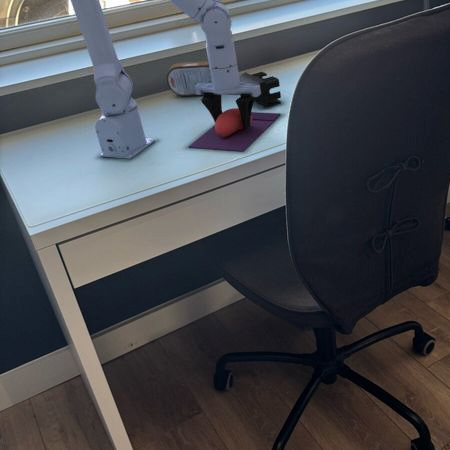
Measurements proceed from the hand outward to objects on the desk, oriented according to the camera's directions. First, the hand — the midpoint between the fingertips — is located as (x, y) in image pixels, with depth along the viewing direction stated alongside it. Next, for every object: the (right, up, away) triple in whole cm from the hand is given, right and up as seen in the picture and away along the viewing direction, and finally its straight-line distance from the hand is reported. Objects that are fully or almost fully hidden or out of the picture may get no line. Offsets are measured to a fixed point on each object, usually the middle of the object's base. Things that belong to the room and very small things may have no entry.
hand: (233, 126), depth 124 cm
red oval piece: (0, -1, +1) cm, 1 cm away
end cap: (+5, +8, +15) cm, 18 cm away
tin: (-12, +13, +26) cm, 31 cm away
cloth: (+1, -1, +1) cm, 2 cm away
